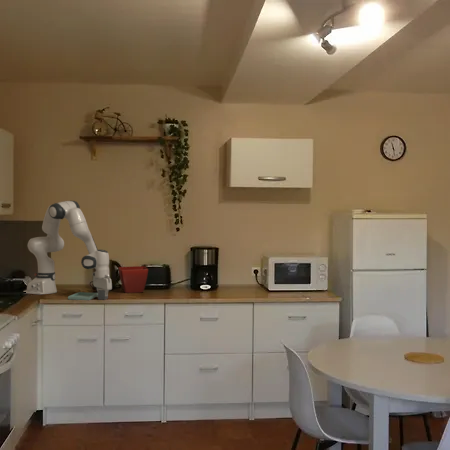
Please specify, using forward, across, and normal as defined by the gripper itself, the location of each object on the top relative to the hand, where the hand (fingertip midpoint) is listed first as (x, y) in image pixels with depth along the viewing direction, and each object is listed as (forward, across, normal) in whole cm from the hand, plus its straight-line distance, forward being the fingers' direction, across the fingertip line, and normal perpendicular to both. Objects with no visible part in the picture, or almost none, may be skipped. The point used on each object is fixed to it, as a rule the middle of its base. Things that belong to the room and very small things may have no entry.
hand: (102, 295), depth 371 cm
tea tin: (+2, 0, 0) cm, 3 cm away
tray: (+2, +11, +8) cm, 14 cm away
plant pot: (+3, +14, -31) cm, 34 cm away
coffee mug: (+3, +20, -8) cm, 22 cm away
